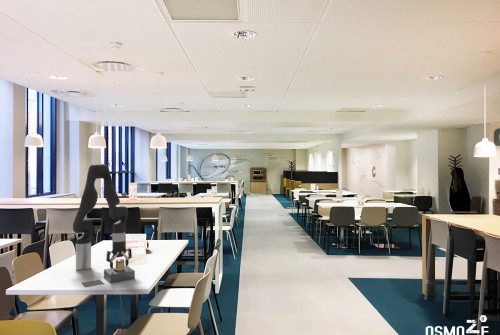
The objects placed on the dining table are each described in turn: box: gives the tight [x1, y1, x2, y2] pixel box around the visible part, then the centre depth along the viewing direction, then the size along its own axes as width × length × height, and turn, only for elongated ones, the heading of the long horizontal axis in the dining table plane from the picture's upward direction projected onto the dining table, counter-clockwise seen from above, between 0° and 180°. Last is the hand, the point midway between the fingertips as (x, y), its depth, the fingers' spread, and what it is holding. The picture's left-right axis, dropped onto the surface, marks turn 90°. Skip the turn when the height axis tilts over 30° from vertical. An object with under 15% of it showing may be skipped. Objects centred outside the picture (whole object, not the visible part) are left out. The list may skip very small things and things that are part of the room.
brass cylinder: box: [115, 258, 125, 272], centre depth 214 cm, size 5×5×11 cm
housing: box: [103, 265, 136, 284], centre depth 214 cm, size 14×14×5 cm
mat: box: [81, 278, 105, 288], centre depth 204 cm, size 10×10×1 cm
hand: (119, 267), depth 214 cm, fingers open, 8 cm apart
